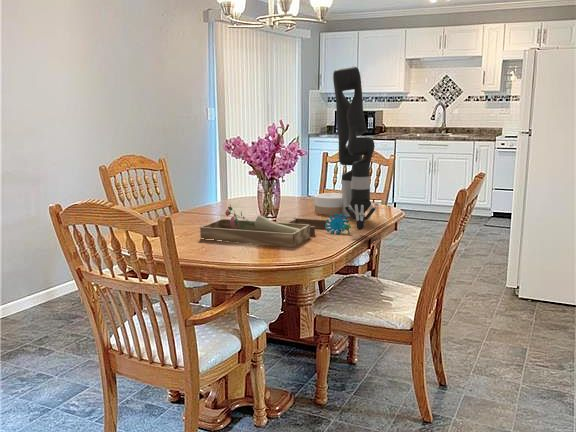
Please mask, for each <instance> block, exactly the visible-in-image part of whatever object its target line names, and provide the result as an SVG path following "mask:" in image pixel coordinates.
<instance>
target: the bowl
mask: <svg viewBox="0 0 576 432" xmlns="http://www.w3.org/2000/svg"><path fill="white" fill-rule="evenodd" d="M314 213H316V214H318V215H322V214H325V215H324V216H335V215H334V214H338V216H339V215H340V213H341V214H342V192H340V193H339V192H325V193H324V192H323V193H318V194H315V195H314Z"/></svg>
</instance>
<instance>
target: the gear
mask: <svg viewBox="0 0 576 432" xmlns="http://www.w3.org/2000/svg"><path fill="white" fill-rule="evenodd" d="M328 216H329V219H325V220H326V224H325V227H326V228H325V229H326V231H327V233H328V232H330V233H331V234H332V235H334V234H335V233H336V234H337V235H339V234H340V232H341V233H343V232H346V231H347V233H350V228H352V226H351V224H350V223H349V222H350V221H349V219H348V217H346V216H343V214H341V213H340V215H338V214H334V215H328Z"/></svg>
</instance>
